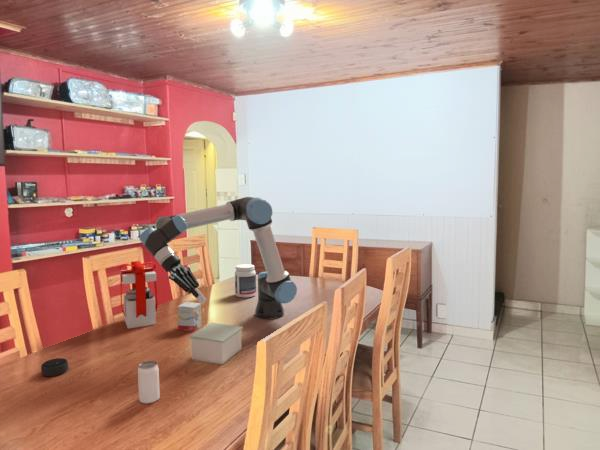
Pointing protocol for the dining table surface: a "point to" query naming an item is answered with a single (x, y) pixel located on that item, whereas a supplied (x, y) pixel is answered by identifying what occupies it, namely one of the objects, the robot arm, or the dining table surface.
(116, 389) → the dining table surface
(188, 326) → the ink box
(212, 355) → the storage box
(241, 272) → the supplement tub
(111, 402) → the dining table surface
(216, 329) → the lid
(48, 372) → the smart speaker
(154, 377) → the can
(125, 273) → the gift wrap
